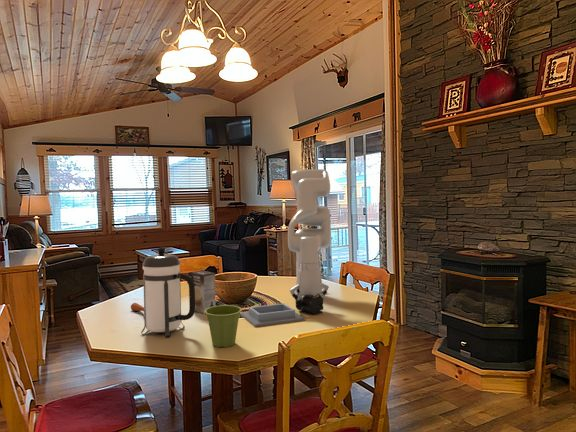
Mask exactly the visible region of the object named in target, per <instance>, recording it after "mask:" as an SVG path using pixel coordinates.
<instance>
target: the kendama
mask: <svg viewBox="0 0 576 432" xmlns="http://www.w3.org/2000/svg"><path fill="white" fill-rule="evenodd" d="M130 309H131V310H132V311H135V312H136V311H137V312H138V311H139V312H144V305H141V304H138V302H133V303H132V304H130Z"/></svg>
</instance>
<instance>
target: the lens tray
mask: <svg viewBox="0 0 576 432" xmlns="http://www.w3.org/2000/svg"><path fill="white" fill-rule="evenodd" d="M240 316H241V317H242V318H244V319H245V320H246V321H247V322H248V323H249V324H251V325H252V326H253V327H254V328H257V327H260V328H261V327H265V326H267V327H268V326H274V325H281V324H288V323H294V322H295V323H296V322H297V323H298V322H303V321H306V320H305V319H306V318H305V317H304V316H302V315H301V314H299V313H298V312H296V310H295V308H293V307H291V306H289V305H287V304H285V303H275V304H268V305H259V306H258V305H257V306H250V307H248V311H243V312H242V311H241V312H240Z"/></svg>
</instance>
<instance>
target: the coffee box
mask: <svg viewBox="0 0 576 432" xmlns="http://www.w3.org/2000/svg"><path fill="white" fill-rule="evenodd" d="M190 277H191V278H192V280H193V282H194V286H195V312H197V313H201V314H203V315H205V314H206V313H205V310H206V309H207V308H210V307H213V306H216V273H215V272H211V271H206V270H199V271H193V272H191V273H190Z"/></svg>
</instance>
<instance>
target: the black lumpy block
mask: <svg viewBox="0 0 576 432" xmlns="http://www.w3.org/2000/svg"><path fill="white" fill-rule="evenodd" d="M300 300H301V310H300V311H302V312H306V313H309V314H312V315H314V316H316V315H320V314H321V315H322V314H323V310H324V305H323V306H318V304H319V303H323V304H324V298H321V297H318V296H314V295H303V296H302V297H301V299H300Z"/></svg>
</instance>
